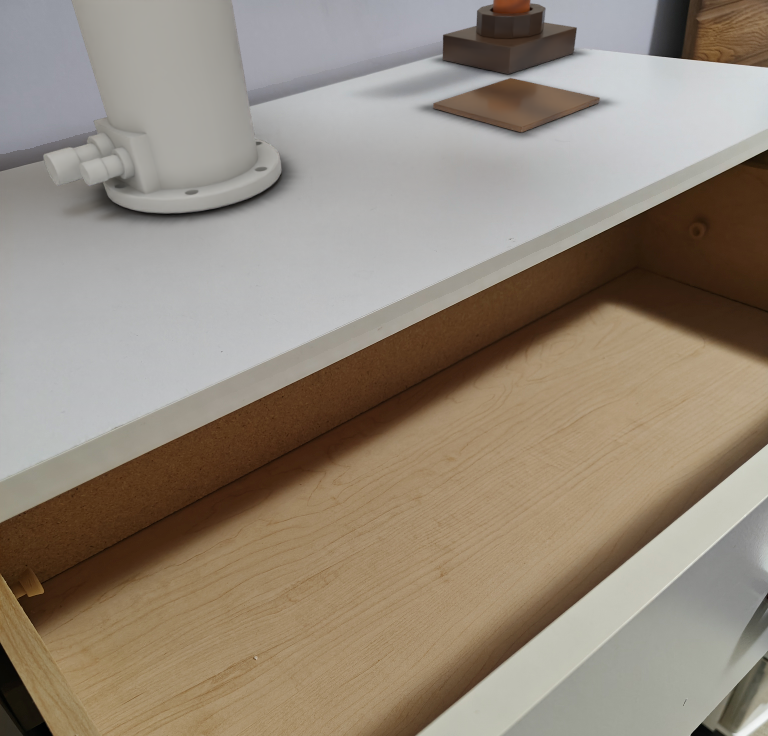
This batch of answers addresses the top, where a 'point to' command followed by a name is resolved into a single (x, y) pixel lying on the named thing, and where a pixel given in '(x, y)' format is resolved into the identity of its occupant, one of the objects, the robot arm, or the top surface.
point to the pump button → (511, 6)
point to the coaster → (516, 104)
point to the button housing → (509, 41)
